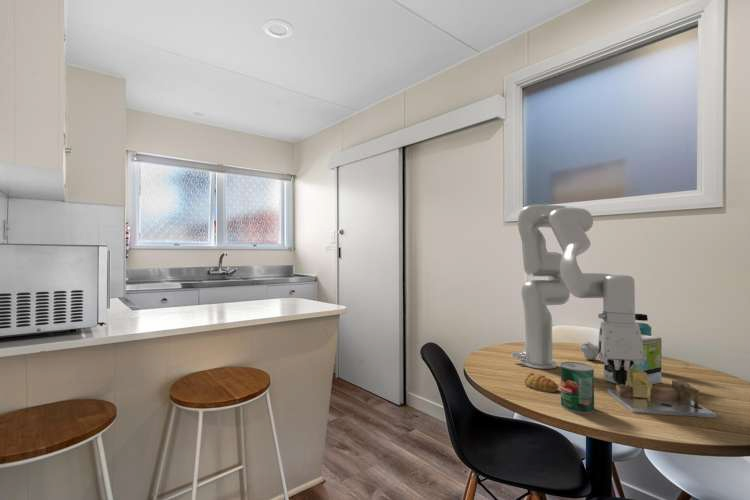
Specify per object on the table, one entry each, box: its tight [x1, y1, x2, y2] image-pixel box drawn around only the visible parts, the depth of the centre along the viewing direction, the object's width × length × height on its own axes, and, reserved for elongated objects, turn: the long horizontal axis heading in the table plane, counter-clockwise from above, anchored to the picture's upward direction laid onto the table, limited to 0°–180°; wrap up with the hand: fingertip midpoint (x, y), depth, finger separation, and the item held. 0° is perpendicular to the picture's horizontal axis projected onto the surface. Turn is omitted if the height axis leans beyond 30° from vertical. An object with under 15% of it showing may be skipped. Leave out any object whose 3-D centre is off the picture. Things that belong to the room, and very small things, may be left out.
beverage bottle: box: [635, 313, 652, 336], centre depth 133 cm, size 6×7×20 cm
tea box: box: [603, 334, 663, 386], centre depth 120 cm, size 15×10×15 cm, turn 117°
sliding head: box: [626, 369, 653, 403], centre depth 102 cm, size 4×8×7 cm, turn 171°
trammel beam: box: [615, 379, 700, 407], centre depth 101 cm, size 17×8×4 cm, turn 81°
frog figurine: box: [579, 341, 599, 361], centre depth 146 cm, size 6×7×7 cm
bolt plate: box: [607, 389, 718, 419], centre depth 100 cm, size 19×14×1 cm
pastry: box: [524, 372, 559, 393], centre depth 113 cm, size 9×7×4 cm
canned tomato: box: [559, 361, 595, 415], centre depth 98 cm, size 8×8×11 cm
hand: (619, 383), depth 104 cm, fingers closed
